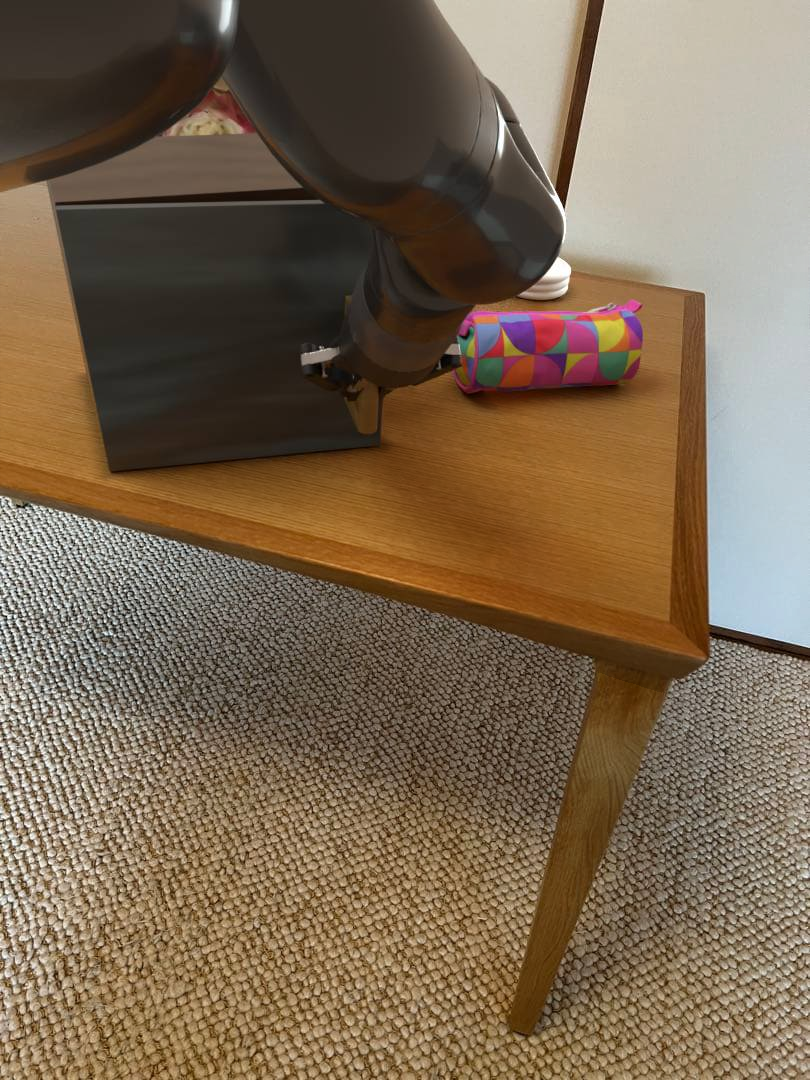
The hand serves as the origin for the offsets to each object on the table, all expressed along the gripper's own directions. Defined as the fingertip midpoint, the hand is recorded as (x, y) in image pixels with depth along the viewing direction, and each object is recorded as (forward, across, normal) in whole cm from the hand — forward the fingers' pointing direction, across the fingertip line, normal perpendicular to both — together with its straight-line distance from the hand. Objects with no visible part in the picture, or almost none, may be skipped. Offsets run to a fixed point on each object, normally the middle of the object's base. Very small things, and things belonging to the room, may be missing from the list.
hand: (363, 389), depth 73 cm
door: (+7, -10, -6) cm, 13 cm away
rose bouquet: (+46, -10, +34) cm, 58 cm away
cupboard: (+17, -12, +5) cm, 21 cm away
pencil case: (+17, +24, +4) cm, 30 cm away
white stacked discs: (+36, +33, +23) cm, 54 cm away
